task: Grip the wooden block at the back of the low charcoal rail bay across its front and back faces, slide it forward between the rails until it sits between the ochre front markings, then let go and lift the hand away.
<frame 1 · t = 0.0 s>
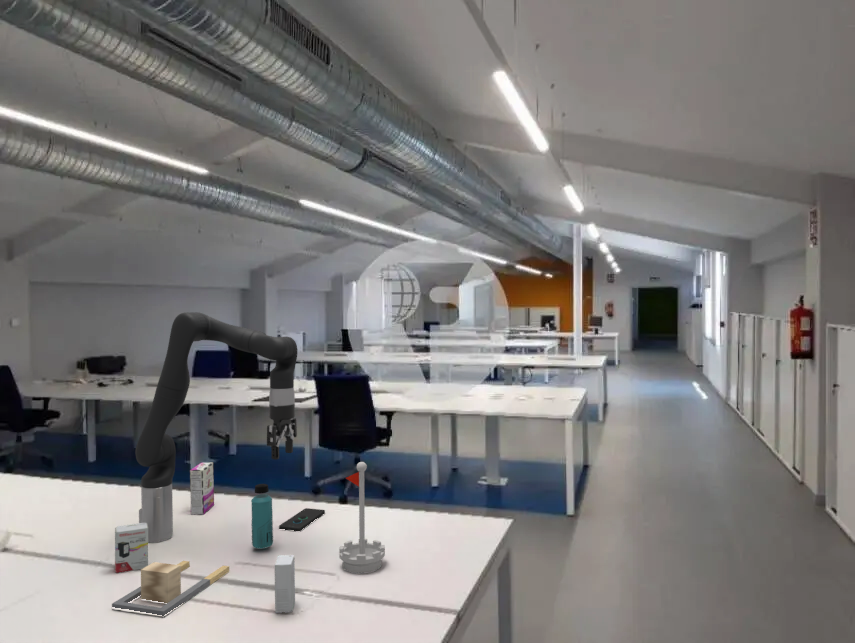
hand: (282, 455, 192), 29 cm above the table, tool pointing down, fingers open, 8 cm apart
candy bar box: (202, 510, 232), on the table
ink box: (131, 568, 181), on the table
flag stand: (362, 566, 182), on the table
rail bay: (176, 588, 168), on the table
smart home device: (302, 522, 220), on the table
skincare box: (285, 608, 157), on the table
wooden block: (161, 598, 162), on the table
beverage bottle: (262, 550, 194), on the table
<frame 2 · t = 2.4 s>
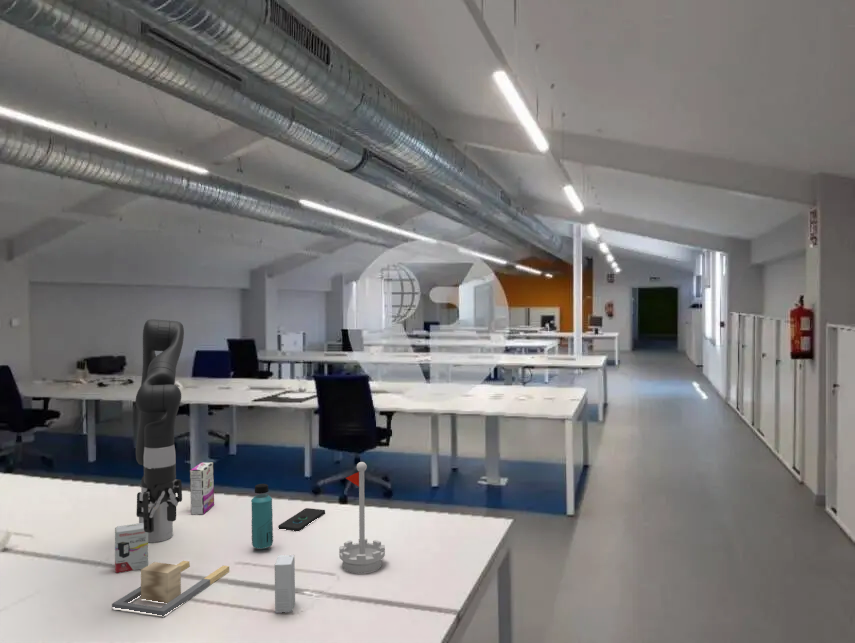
hand: (160, 526, 161), 19 cm above the table, tool pointing down, fingers open, 8 cm apart
nothing on the table moved.
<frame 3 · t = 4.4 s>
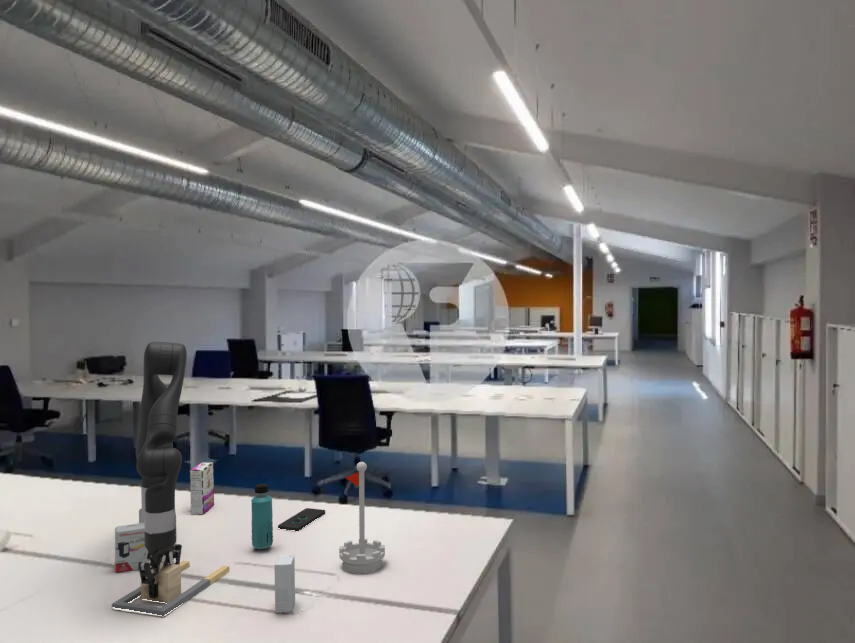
hand: (161, 592, 162), 1 cm above the table, tool pointing down, fingers closed on wooden block, 5 cm apart
wooden block: (161, 598, 162), on the table, touching gripper
everything else where it was.
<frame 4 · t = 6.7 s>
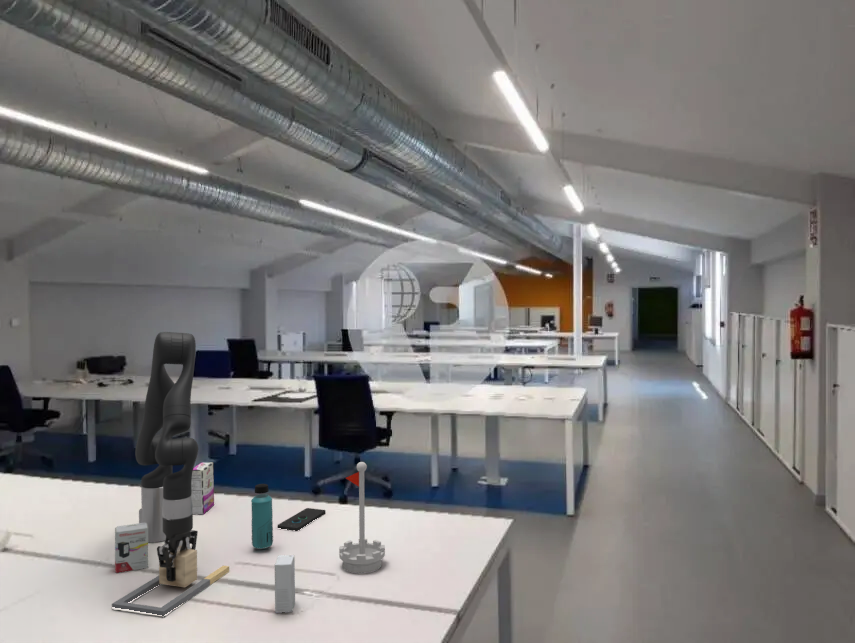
hand: (178, 576, 169), 3 cm above the table, tool pointing down, fingers closed on wooden block, 5 cm apart
wooden block: (178, 581, 169), point 1 cm above the table, touching gripper
everything else where it was.
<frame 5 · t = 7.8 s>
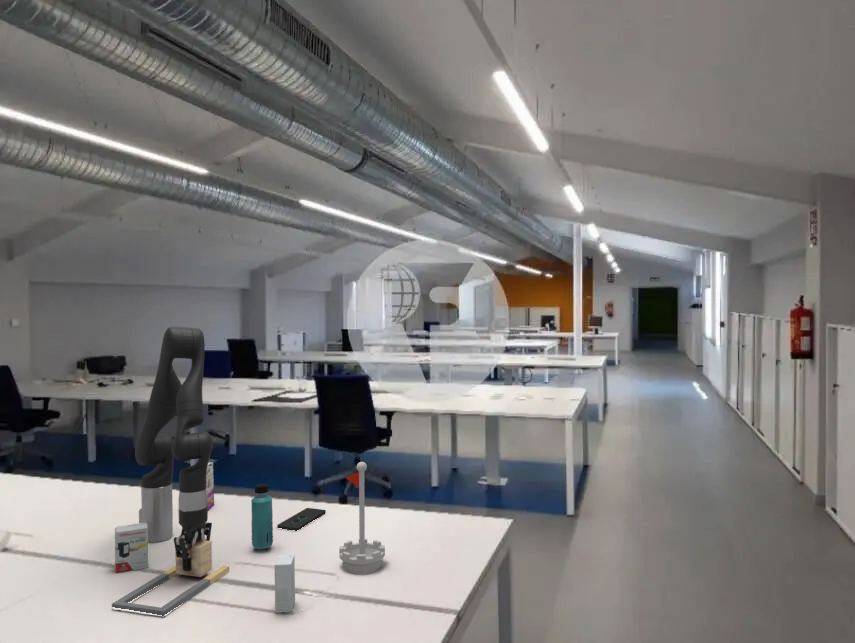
hand: (193, 566, 175), 3 cm above the table, tool pointing down, fingers closed on wooden block, 5 cm apart
wooden block: (193, 571, 175), point 1 cm above the table, touching gripper
everything else where it was.
when the fingers open (2 cm above the table, at t = 8.8 s): wooden block stays where it is, on the table.
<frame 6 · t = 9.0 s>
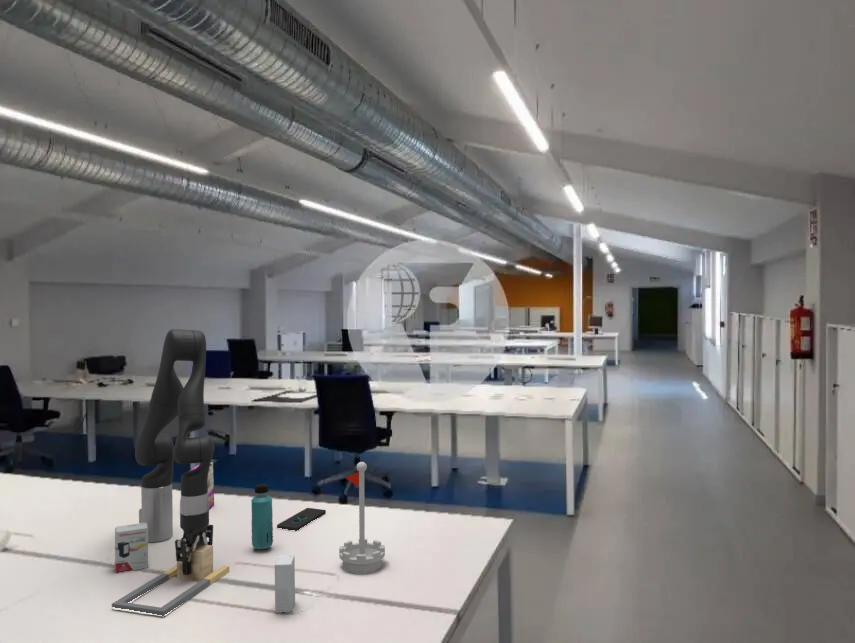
hand: (195, 569, 175), 2 cm above the table, tool pointing down, fingers open, 6 cm apart
wooden block: (195, 576, 175), on the table
everything else where it was.
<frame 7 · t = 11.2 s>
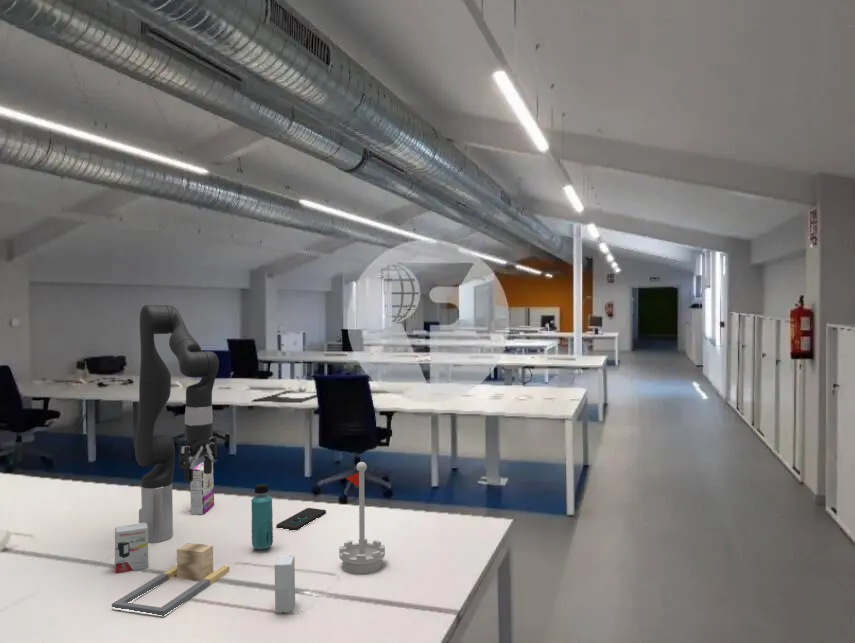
hand: (198, 477, 181), 26 cm above the table, tool pointing down, fingers open, 8 cm apart
nothing on the table moved.
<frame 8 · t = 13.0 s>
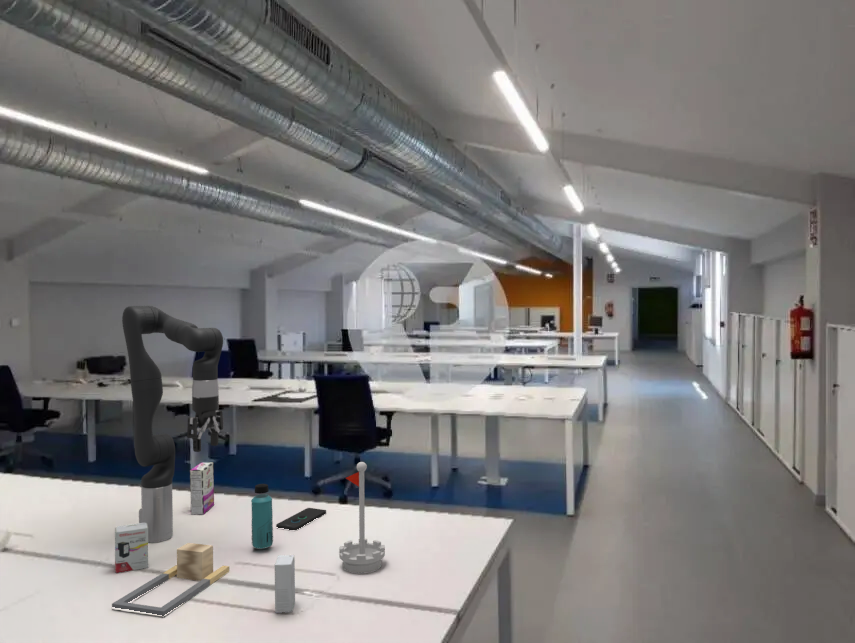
hand: (205, 448, 190), 32 cm above the table, tool pointing down, fingers open, 8 cm apart
nothing on the table moved.
at the end: wooden block inside the target area (0.1 cm from its centre), on the table; wooden block tilted 0°; the gripper is holding nothing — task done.
